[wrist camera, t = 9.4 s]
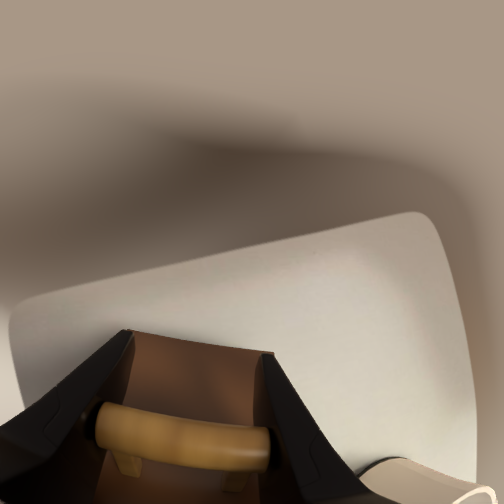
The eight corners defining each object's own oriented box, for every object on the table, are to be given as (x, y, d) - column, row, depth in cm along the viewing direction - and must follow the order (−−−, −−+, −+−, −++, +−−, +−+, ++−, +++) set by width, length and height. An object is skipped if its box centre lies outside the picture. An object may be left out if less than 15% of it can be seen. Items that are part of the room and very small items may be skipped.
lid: (291, 601, 4) (355, 602, 3) (58, 567, 4) (-9, 546, 2) (271, 362, 16) (294, 291, 14) (127, 339, 15) (124, 263, 13)
